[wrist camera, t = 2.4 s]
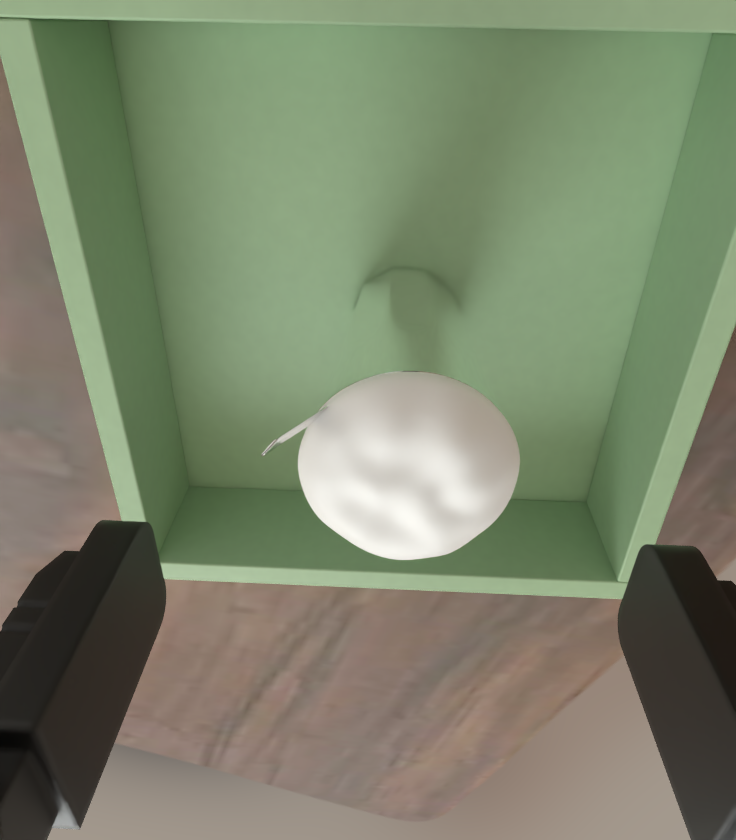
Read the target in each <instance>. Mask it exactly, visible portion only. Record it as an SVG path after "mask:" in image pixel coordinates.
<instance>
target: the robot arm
mask: <svg viewBox="0 0 736 840" xmlns="http://www.w3.org/2000/svg"><path fill="white" fill-rule="evenodd" d="M165 605H166V586H165V581H164V577H163V572H162V568H161V563H160V559H159V554H158V549H157V545H156V540H155V536H154V532H153V528H152V526H151V525H150V523H148V522H136V521H112V520H102V521H100V522H98V523H97V524H96V526H95V527H94V528H93V530H92V532H91V533H90V535H89V537H88V538H87V540H86V542H85V543H84V545H83V546H82V548H81V550H80V551H64V552H63V553H61V554H60V555H59V556H58V557H56V558H55V559H54V560H53V561H52V562H50V563H49V564H48V565H47V566H45V567H44V568H43V569H42V570H41V571H39V572H38V573H37V574H36V575H35V577H34V578H33V580H32V581H31V583H30V584H29V586H28V587H27V589H26V590H25V592H24V593H23V595H22V596H21V598H20V599H19V601H18V606H17V608H13V610H12V611H11V613H10V614H9V616H8V617H7V619H6V620H5V622H4V623H3V625H2V630H1V632H0V840H47V838H48V836H49V833H50V831H51V829H52V828H64V829H80V828H81V825H82V823H83V820H84V818H85V815H86V813H87V810H88V808H89V805H90V803H91V800H92V798H93V795H94V793H95V790H96V787H97V785H98V783H99V780H100V777H101V775H102V772H103V770H104V767H105V765H106V762H107V760H108V757H109V755H110V752H111V750H112V747H113V745H114V742H115V740H116V737H117V735H118V732H119V730H120V727H121V725H122V722H123V720H124V717H125V714H126V712H127V709H128V707H129V704H130V702H131V699H132V697H133V694H134V692H135V689H136V687H137V684H138V682H139V679H140V677H141V674H142V672H143V669H144V667H145V664H146V662H147V659H148V657H149V654H150V651H151V649H152V646H153V644H154V641H155V639H156V636H157V634H158V631H159V629H160V626H161V623H162V620H163V617H164V612H165ZM618 633H619V639H620V644H621V647H622V650H623V653H624V656H625V658H626V661H627V664H628V667H629V669H630V672H631V675H632V678H633V681H634V683H635V686H636V689H637V691H638V694H639V697H640V700H641V703H642V705H643V708H644V711H645V713H646V716H647V719H648V722H649V724H650V728H651V730H652V733H653V736H654V739H655V741H656V744H657V747H658V750H659V752H660V755H661V758H662V761H663V763H664V766H665V769H666V772H667V774H668V777H669V780H670V783H671V786H672V788H673V791H674V794H675V797H676V799H677V802H678V805H679V808H680V810H681V813H682V816H683V819H684V822H685V824H686V827H687V830H688V832H689V835H690V838H691V840H736V585H735V584H734V583H733V582H732V581H719V580H717V579H716V577H715V575H714V573H713V572H712V570H711V568H710V567H709V565H708V563H707V561H706V560H705V558H704V556H703V555H702V553H701V552H700V551H699V550H698V549H697V548H696V547H693V546H677V545H653V544H645V545H643V546H642V547H641V548H640V550H639V552H638V555H637V558H636V561H635V564H634V566H633V569H632V572H631V575H630V578H629V581H628V584H627V587H626V590H625V593H624V596H623V599H622V602H621V605H620V608H619V613H618Z"/></svg>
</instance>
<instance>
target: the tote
mask: <svg viewBox="0 0 736 840" xmlns="http://www.w3.org/2000/svg"><path fill="white" fill-rule="evenodd" d="M0 56H1V59H2V63H3V67H4V71H5V75H6V79H7V82H8V86H9V90H10V94H11V98H12V102H13V105H14V109H15V113H16V117H17V121H18V125H19V128H20V132H21V136H22V140H23V144H24V148H25V151H26V155H27V159H28V163H29V167H30V171H31V174H32V178H33V182H34V186H35V190H36V194H37V197H38V201H39V205H40V209H41V213H42V216H43V220H44V224H45V228H46V232H47V236H48V239H49V243H50V247H51V251H52V255H53V259H54V262H55V266H56V270H57V274H58V278H59V282H60V285H61V289H62V293H63V297H64V301H65V305H66V308H67V312H68V316H69V320H70V324H71V328H72V331H73V335H74V339H75V343H76V347H77V351H78V354H79V358H80V362H81V366H82V370H83V374H84V377H85V381H86V385H87V389H88V393H89V397H90V400H91V404H92V408H93V412H94V416H95V420H96V423H97V427H98V431H99V435H100V439H101V443H102V446H103V450H104V454H105V458H106V462H107V466H108V469H109V473H110V477H111V481H112V485H113V489H114V492H115V496H116V500H117V504H118V508H119V512H120V515H121V519H122V521H136V522H148V523H150V525H151V526H152V528H153V532H154V536H155V540H156V545H157V549H158V554H159V559H160V563H161V568H162V572H163V577H164V579H175V580H198V581H221V582H244V583H267V584H290V585H313V586H336V587H359V588H382V589H405V590H427V591H450V592H473V593H496V594H519V595H542V596H565V597H588V598H611V599H623V596H624V593H625V590H626V587H627V584H628V581H629V578H630V575H631V572H632V569H633V566H634V564H635V561H636V558H637V555H638V552H639V550H640V548H641V547H642V546H643V545H645V544H653V545H655V544H656V541H657V538H658V535H659V533H660V530H661V527H662V524H663V522H664V519H665V516H666V514H667V511H668V508H669V505H670V503H671V500H672V497H673V494H674V492H675V489H676V486H677V483H678V481H679V478H680V475H681V472H682V470H683V467H684V464H685V462H686V459H687V456H688V453H689V451H690V448H691V445H692V442H693V440H694V437H695V434H696V431H697V429H698V426H699V423H700V421H701V418H702V415H703V412H704V410H705V407H706V404H707V401H708V399H709V396H710V393H711V390H712V388H713V385H714V382H715V379H716V377H717V374H718V371H719V369H720V366H721V363H722V360H723V358H724V355H725V352H726V349H727V347H728V344H729V341H730V338H731V336H732V333H733V330H734V328H735V325H736V0H0ZM391 268H397V269H412V270H426V271H427V272H428V273H429V274H430V275H431V276H433V277H434V278H435V279H436V280H437V281H439V282H440V283H441V284H442V285H443V286H445V287H446V288H447V289H448V290H450V292H451V294H452V296H453V298H454V301H455V303H456V306H457V308H458V311H459V313H460V316H461V318H462V321H463V323H464V326H465V328H466V331H467V333H468V335H469V338H470V340H471V343H472V345H473V348H474V350H475V353H476V355H477V358H478V360H479V362H480V365H481V367H482V369H483V371H484V373H485V376H486V378H487V380H488V382H489V384H490V386H491V388H492V390H493V392H494V394H495V397H496V399H497V401H498V403H499V405H500V407H501V409H502V411H503V413H504V415H505V417H506V420H507V421H508V423H509V424H510V426H511V428H512V430H513V432H514V435H515V437H516V440H517V443H518V447H519V454H520V467H519V474H518V478H517V482H516V485H515V488H514V491H513V494H512V496H511V498H510V500H509V502H508V504H507V506H506V507H505V509H504V510H503V512H502V513H501V514H500V516H499V517H498V518H497V519H496V520H495V521H494V522H493V523H492V524H491V525H490V526H489V527H488V528H487V529H485V530H484V531H483V532H481V533H480V534H479V535H477V536H476V537H475V538H473V539H472V540H471V541H469V542H468V543H467V544H465V545H464V546H462V547H461V548H459V549H457V550H455V551H453V552H451V553H449V554H446V555H442V556H437V557H430V558H423V559H414V560H395V559H389V558H384V557H380V556H377V555H374V554H372V553H369V552H367V551H365V550H363V549H361V548H359V547H357V546H355V545H354V544H352V543H351V542H349V541H348V540H346V539H345V538H343V537H342V536H340V535H339V534H338V533H336V532H335V531H333V530H332V529H331V528H330V527H328V526H327V525H326V524H325V523H323V522H322V521H321V520H320V519H319V518H318V516H317V515H316V514H315V513H314V511H313V510H312V508H311V506H310V505H309V503H308V501H307V499H306V497H305V494H304V492H303V489H302V486H301V482H300V478H299V473H298V454H299V448H300V444H301V441H302V438H303V436H304V433H305V431H306V429H307V427H306V428H305V429H303V430H302V431H300V432H299V433H297V434H296V435H294V436H293V437H291V438H290V439H288V440H287V441H285V442H284V443H282V444H281V445H279V446H278V447H276V448H275V449H273V450H272V451H270V452H269V453H267V454H266V455H264V456H261V454H262V453H263V451H264V450H265V449H266V448H267V447H268V446H269V445H270V444H271V442H272V441H273V440H275V439H276V438H277V437H279V436H280V435H282V434H284V433H285V432H287V431H288V430H290V429H291V428H293V427H294V426H296V425H298V424H299V423H301V422H302V421H304V420H305V419H307V418H308V417H310V416H311V415H312V414H313V412H314V409H315V407H316V405H317V402H318V400H319V397H320V395H321V393H322V390H323V388H324V386H325V383H326V381H327V379H328V377H329V374H330V372H331V370H332V368H333V366H334V364H335V362H336V359H337V356H338V353H339V350H340V347H341V344H342V341H343V338H344V335H345V332H346V329H347V327H348V324H349V321H350V318H351V315H352V313H353V310H354V308H355V305H356V303H357V300H358V298H359V295H360V293H361V290H362V287H363V285H365V284H367V283H368V282H370V281H372V280H373V279H375V278H376V277H378V276H380V275H381V274H383V273H385V272H386V271H388V270H389V269H391Z"/></svg>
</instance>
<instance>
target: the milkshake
mask: <svg viewBox="0 0 736 840" xmlns="http://www.w3.org/2000/svg"><path fill="white" fill-rule="evenodd" d="M306 427H307V429H306V431H305V433H304V436H303V438H302V441H301V444H300V448H299V454H298V473H299V478H300V482H301V486H302V489H303V492H304V494H305V497H306V499H307V501H308V503H309V505H310V506H311V508H312V510H313V511H314V513H315V514H316V515H317V516H318V518H319V519H320V520H321V521H322V522H323V523H325V524H326V525H327V526H328V527H330V528H331V529H332V530H333V531H335V532H336V533H338V534H339V535H340V536H342V537H343V538H345V539H346V540H348V541H349V542H351V543H352V544H354V545H355V546H357V547H359V548H361V549H363V550H365V551H367V552H369V553H372V554H374V555H377V556H380V557H384V558H389V559H395V560H414V559H423V558H430V557H437V556H442V555H446V554H449V553H451V552H453V551H455V550H457V549H459V548H461V547H462V546H464V545H465V544H467V543H468V542H469V541H471V540H472V539H473V538H475V537H476V536H477V535H479V534H480V533H481V532H483V531H484V530H485V529H487V528H488V527H489V526H490V525H491V524H492V523H493V522H494V521H495V520H496V519H497V518H498V517H499V516H500V514H501V513H502V512H503V510H504V509H505V507H506V506H507V504H508V502H509V500H510V498H511V496H512V494H513V491H514V488H515V485H516V482H517V478H518V474H519V467H520V454H519V447H518V443H517V440H516V437H515V435H514V432H513V430H512V428H511V426H510V424H509V423H508V421H507V420H506V417H505V415H504V413H503V411H502V409H501V407H500V405H499V403H498V401H497V399H496V397H495V394H494V392H493V390H492V388H491V386H490V384H489V382H488V380H487V378H486V376H485V373H484V371H483V369H482V367H481V365H480V362H479V360H478V358H477V355H476V353H475V350H474V348H473V345H472V343H471V340H470V338H469V335H468V333H467V331H466V328H465V326H464V323H463V321H462V318H461V316H460V313H459V311H458V308H457V306H456V303H455V301H454V298H453V296H452V294H451V292H450V290H448V289H447V288H446V287H445V286H443V285H442V284H441V283H440V282H439V281H437V280H436V279H435V278H434V277H433V276H431V275H430V274H429V273H428V272H427V271H426V270H412V269H397V268H391V269H389V270H388V271H386V272H385V273H383V274H381V275H380V276H378V277H376V278H375V279H373V280H372V281H370V282H368V283H367V284H365V285H363V287H362V290H361V293H360V295H359V298H358V300H357V303H356V305H355V308H354V310H353V313H352V315H351V318H350V321H349V324H348V327H347V329H346V332H345V335H344V338H343V341H342V344H341V347H340V350H339V353H338V356H337V359H336V362H335V364H334V366H333V368H332V370H331V372H330V374H329V377H328V379H327V381H326V383H325V386H324V388H323V390H322V393H321V395H320V397H319V400H318V402H317V405H316V407H315V409H314V412H313V414H312V415H311V416H310V417H308V418H307V419H305V420H304V421H302V422H301V423H299V424H298V425H296V426H294V427H293V428H291V429H290V430H288V431H287V432H285V433H284V434H282V435H280V436H279V437H277V438H276V439H275V440H273V441H272V442H271V444H270V445H269V446H268V447H267V448H266V449H265V450H264V451H263V453H262V454H261V456H264V455H266V454H267V453H269V452H270V451H272V450H273V449H275V448H276V447H278V446H279V445H281V444H282V443H284V442H285V441H287V440H288V439H290V438H291V437H293V436H294V435H296V434H297V433H299V432H300V431H302V430H303V429H305V428H306Z"/></svg>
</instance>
